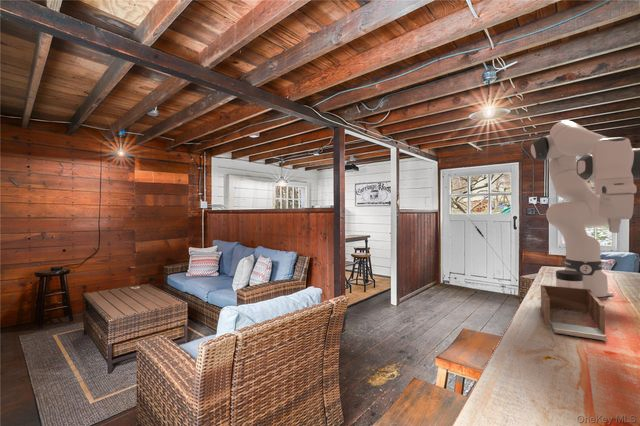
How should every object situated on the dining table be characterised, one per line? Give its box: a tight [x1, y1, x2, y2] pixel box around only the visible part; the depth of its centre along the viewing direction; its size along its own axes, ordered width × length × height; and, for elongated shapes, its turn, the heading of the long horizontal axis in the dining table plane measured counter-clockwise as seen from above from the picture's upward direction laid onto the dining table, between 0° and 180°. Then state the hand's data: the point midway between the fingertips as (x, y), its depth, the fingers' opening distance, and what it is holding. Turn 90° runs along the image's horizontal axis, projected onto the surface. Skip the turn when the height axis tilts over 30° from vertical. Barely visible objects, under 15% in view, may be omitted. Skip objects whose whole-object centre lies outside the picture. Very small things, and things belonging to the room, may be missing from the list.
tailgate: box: [550, 321, 607, 341], centre depth 90 cm, size 1×11×8 cm
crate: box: [540, 284, 606, 333], centre depth 102 cm, size 20×14×8 cm
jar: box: [555, 269, 583, 289], centre depth 117 cm, size 9×8×12 cm
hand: (614, 232), depth 95 cm, fingers closed
